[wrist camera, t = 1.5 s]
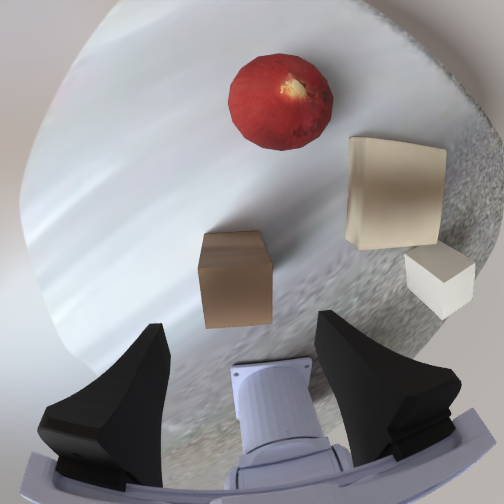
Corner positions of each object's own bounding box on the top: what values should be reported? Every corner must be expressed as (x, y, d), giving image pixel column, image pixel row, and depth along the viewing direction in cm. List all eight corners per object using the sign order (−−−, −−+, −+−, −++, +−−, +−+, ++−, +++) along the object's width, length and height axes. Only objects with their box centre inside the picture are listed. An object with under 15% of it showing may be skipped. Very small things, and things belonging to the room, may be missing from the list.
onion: (314, 81, 17) (366, 50, 9) (304, 155, 19) (354, 163, 11) (233, 67, 16) (240, 19, 8) (222, 144, 18) (222, 141, 10)
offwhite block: (436, 271, 24) (472, 299, 18) (407, 287, 24) (442, 320, 19) (434, 237, 22) (475, 262, 17) (404, 253, 23) (443, 283, 17)
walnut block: (259, 278, 22) (272, 323, 16) (209, 282, 22) (205, 328, 16) (258, 230, 20) (272, 263, 15) (204, 233, 20) (197, 268, 15)
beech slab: (417, 232, 22) (436, 244, 20) (343, 236, 22) (359, 250, 19) (424, 147, 19) (446, 150, 17) (347, 137, 19) (365, 137, 16)
